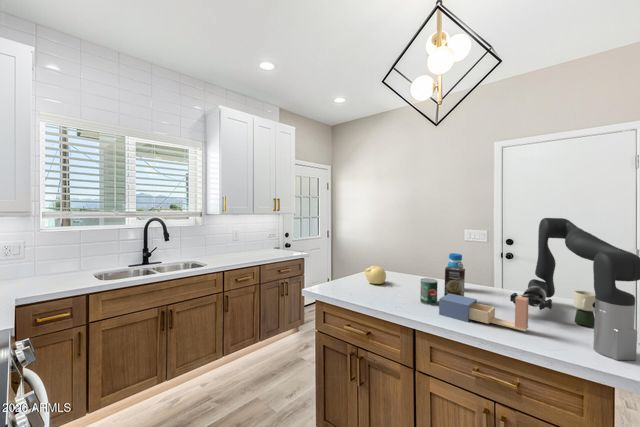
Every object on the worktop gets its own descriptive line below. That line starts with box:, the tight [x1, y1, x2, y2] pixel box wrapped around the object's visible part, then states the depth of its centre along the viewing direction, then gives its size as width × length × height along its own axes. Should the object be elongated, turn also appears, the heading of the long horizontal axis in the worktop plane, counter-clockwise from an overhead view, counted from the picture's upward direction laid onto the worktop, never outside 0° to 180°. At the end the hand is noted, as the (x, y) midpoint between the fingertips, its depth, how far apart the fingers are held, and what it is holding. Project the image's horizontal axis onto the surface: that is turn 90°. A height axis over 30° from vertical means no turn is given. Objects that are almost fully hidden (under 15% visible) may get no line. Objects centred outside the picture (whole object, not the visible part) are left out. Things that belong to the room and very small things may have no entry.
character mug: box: [573, 290, 595, 328], centre depth 120 cm, size 11×7×13 cm, turn 135°
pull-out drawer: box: [469, 296, 529, 332], centre depth 121 cm, size 23×9×12 cm, turn 46°
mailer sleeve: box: [438, 293, 478, 323], centre depth 131 cm, size 12×11×7 cm
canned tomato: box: [419, 277, 439, 306], centre depth 147 cm, size 8×8×11 cm
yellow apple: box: [364, 265, 387, 285], centre depth 182 cm, size 11×12×11 cm
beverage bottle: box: [446, 252, 464, 269], centre depth 169 cm, size 8×8×20 cm
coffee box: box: [443, 266, 466, 297], centre depth 150 cm, size 9×6×16 cm
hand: (527, 304), depth 122 cm, fingers open, 8 cm apart
